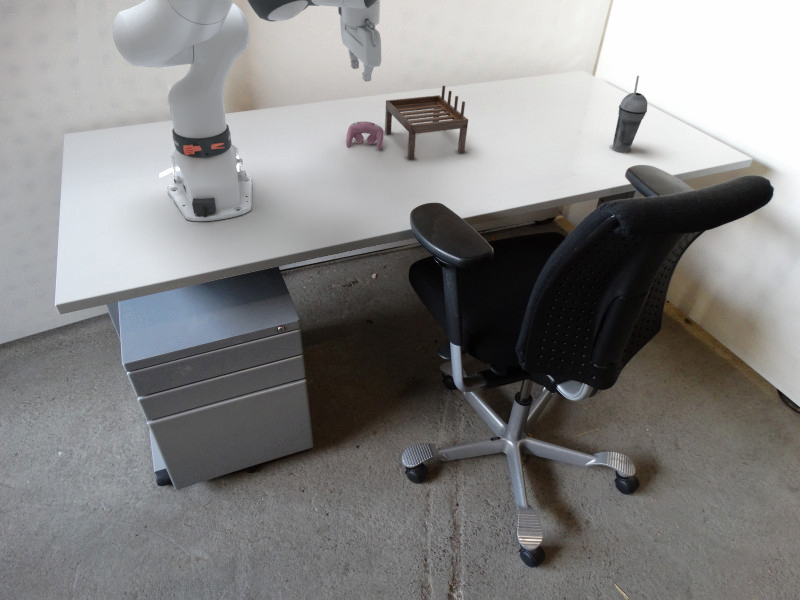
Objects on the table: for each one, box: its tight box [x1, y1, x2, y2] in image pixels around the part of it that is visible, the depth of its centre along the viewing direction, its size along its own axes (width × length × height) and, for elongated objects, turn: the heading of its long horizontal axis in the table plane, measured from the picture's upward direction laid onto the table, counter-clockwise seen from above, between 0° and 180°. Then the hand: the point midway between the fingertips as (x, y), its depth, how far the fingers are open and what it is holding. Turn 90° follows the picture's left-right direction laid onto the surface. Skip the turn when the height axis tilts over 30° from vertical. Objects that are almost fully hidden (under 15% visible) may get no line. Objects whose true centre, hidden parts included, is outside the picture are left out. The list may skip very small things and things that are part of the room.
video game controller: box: [345, 121, 384, 150], centre depth 156 cm, size 10×5×7 cm, turn 84°
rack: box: [384, 85, 469, 161], centre depth 157 cm, size 18×16×13 cm
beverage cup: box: [611, 75, 648, 154], centre depth 157 cm, size 7×7×20 cm
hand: (360, 74), depth 146 cm, fingers open, 8 cm apart
